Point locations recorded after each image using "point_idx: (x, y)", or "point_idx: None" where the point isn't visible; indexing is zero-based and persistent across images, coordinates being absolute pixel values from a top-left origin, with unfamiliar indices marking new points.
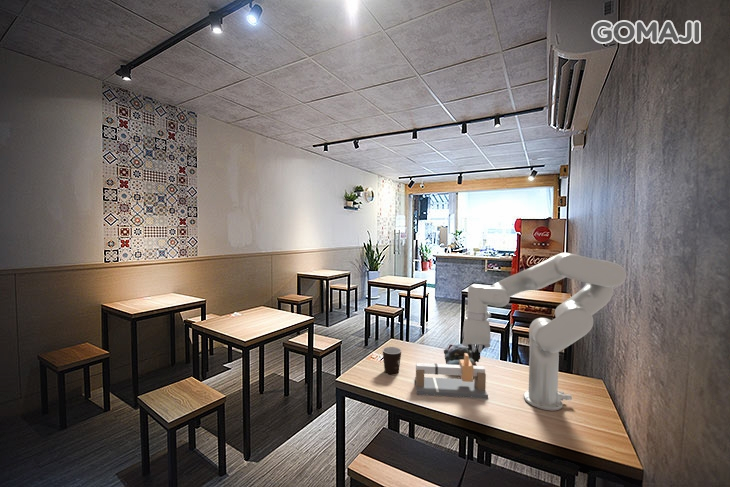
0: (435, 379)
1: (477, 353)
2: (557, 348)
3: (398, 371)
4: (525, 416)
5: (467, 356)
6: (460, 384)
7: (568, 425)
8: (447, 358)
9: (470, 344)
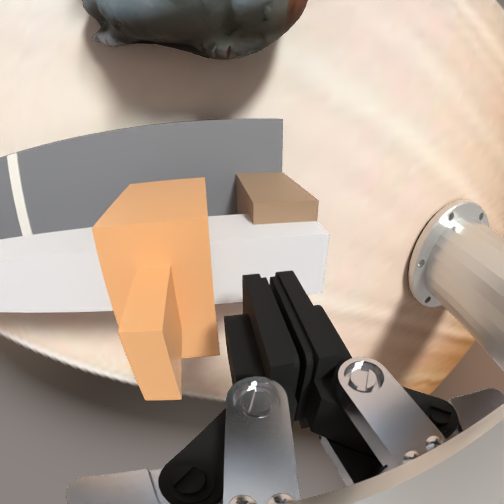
0: (18, 175)
1: (295, 417)
2: None
3: None
4: (354, 345)
5: (165, 395)
6: None
7: (423, 346)
8: None
9: (223, 497)
